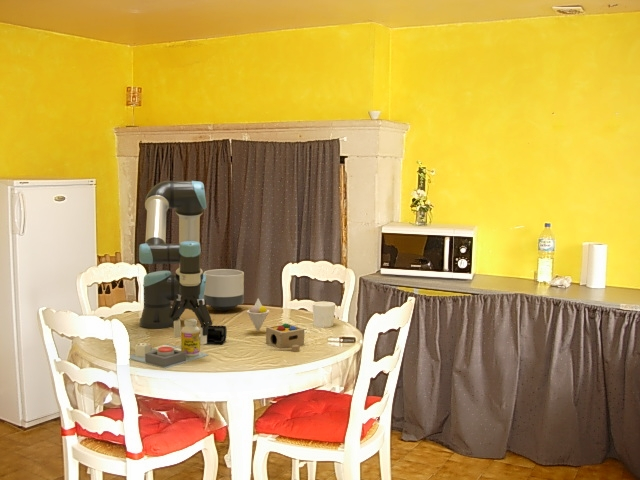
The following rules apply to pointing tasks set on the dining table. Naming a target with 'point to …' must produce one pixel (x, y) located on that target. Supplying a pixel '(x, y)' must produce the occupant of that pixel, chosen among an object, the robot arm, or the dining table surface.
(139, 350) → the die
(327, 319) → the cup
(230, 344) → the dining table surface
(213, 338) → the end cap
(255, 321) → the toy
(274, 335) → the pounding toy
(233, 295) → the planter
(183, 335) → the supplement bottle
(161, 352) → the pop button
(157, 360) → the button housing
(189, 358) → the board
